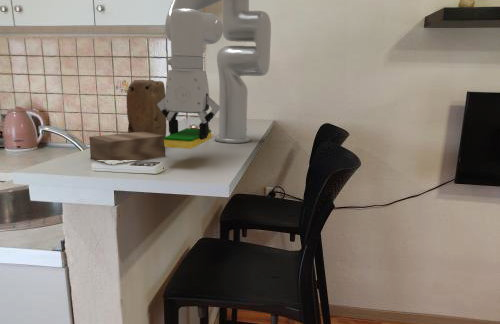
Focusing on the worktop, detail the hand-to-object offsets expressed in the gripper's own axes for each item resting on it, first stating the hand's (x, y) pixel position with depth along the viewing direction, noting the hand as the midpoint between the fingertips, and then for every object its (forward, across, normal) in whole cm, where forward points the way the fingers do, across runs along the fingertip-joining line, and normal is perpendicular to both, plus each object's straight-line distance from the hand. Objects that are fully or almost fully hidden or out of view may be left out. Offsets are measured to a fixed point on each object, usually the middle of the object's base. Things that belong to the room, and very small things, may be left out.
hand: (188, 136), depth 96 cm
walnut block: (+7, -17, -1) cm, 18 cm away
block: (+7, -21, +14) cm, 26 cm away
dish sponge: (+2, 0, 0) cm, 2 cm away
